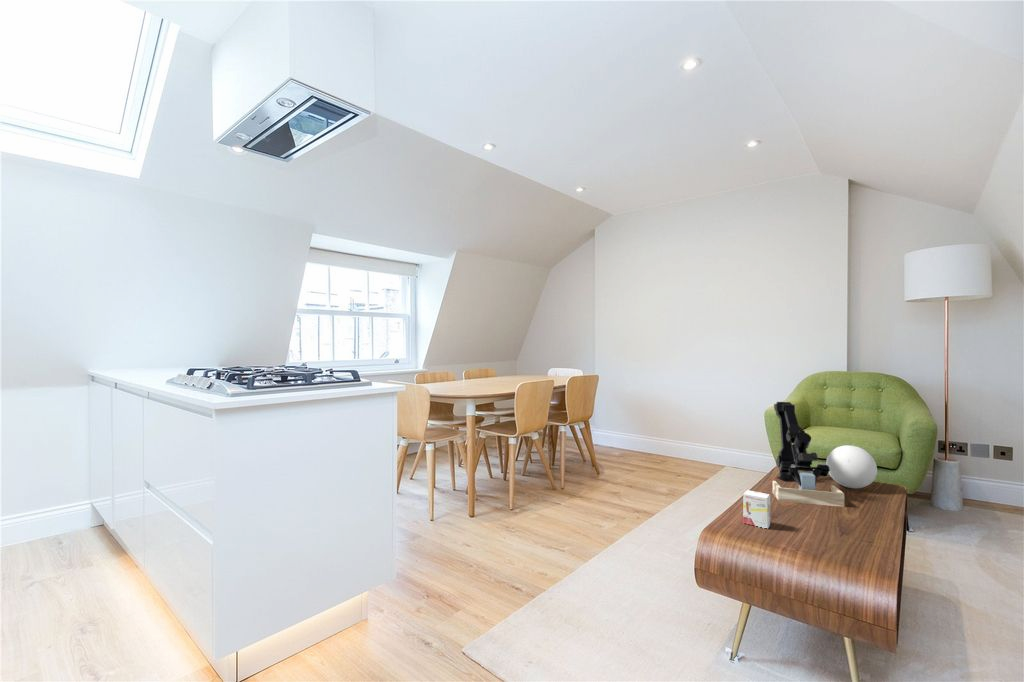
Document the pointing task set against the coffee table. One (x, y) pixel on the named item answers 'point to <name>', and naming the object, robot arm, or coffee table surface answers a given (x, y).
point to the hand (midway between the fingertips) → (807, 486)
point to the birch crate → (809, 496)
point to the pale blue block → (807, 481)
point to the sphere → (851, 466)
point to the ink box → (756, 509)
